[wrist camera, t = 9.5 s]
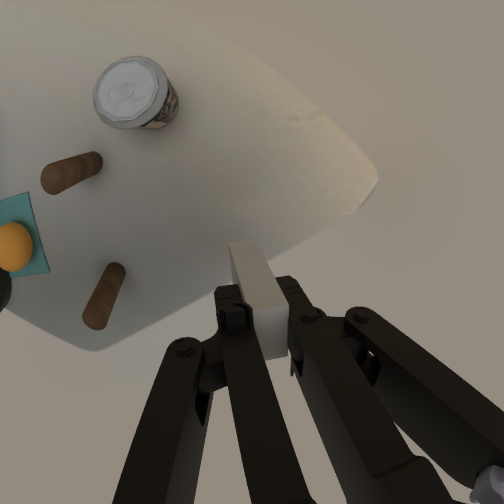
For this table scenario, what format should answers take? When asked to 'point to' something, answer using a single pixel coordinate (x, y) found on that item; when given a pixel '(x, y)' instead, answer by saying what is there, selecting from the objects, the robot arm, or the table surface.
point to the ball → (14, 247)
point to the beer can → (135, 95)
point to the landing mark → (22, 213)
